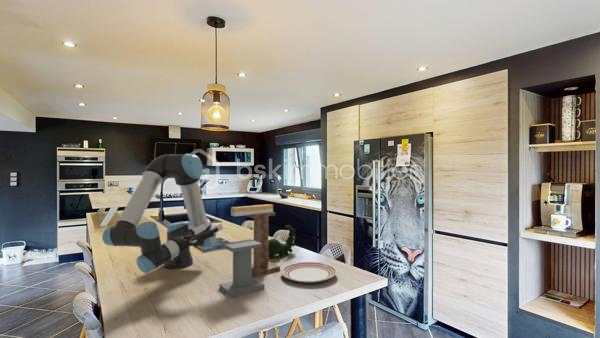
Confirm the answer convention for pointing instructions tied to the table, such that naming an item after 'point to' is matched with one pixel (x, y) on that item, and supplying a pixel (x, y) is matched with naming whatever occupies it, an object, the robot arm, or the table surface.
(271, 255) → the dark green knobbed ball
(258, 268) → the tall stand
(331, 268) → the dinner plate
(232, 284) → the low stand
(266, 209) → the brown and gray block
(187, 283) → the table surface
